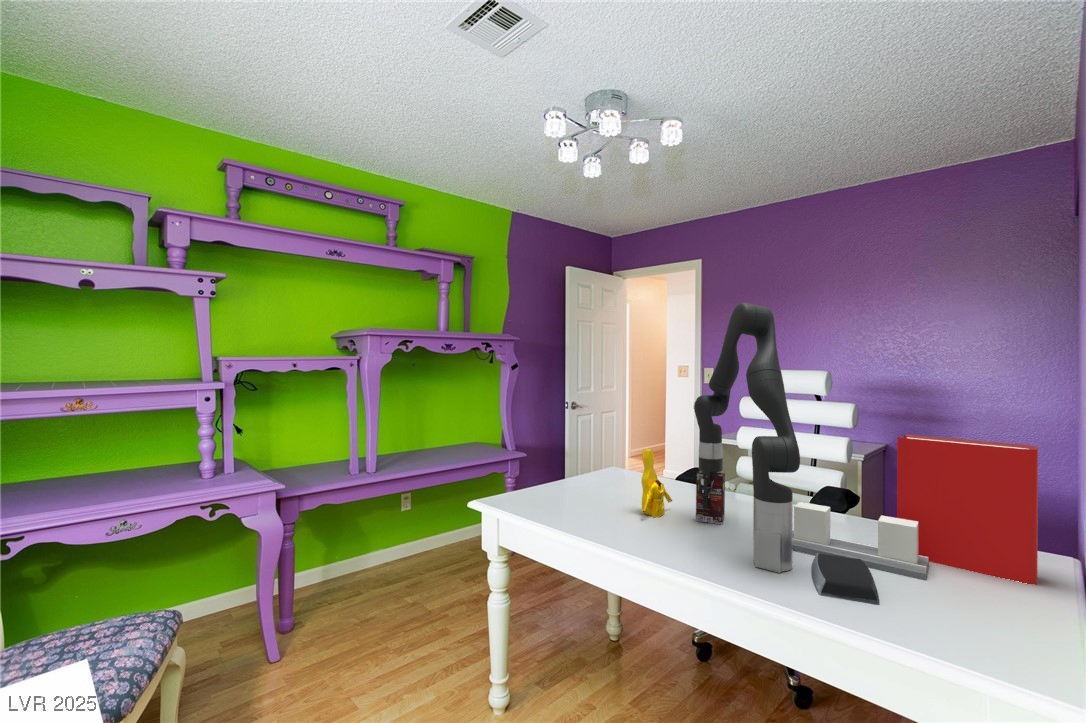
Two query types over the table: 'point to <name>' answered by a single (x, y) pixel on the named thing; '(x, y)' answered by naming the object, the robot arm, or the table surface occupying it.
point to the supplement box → (712, 500)
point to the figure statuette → (652, 488)
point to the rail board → (890, 555)
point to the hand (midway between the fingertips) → (710, 506)
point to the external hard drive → (843, 578)
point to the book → (972, 503)
